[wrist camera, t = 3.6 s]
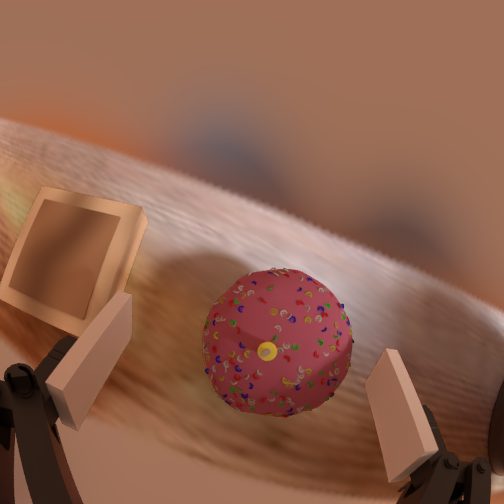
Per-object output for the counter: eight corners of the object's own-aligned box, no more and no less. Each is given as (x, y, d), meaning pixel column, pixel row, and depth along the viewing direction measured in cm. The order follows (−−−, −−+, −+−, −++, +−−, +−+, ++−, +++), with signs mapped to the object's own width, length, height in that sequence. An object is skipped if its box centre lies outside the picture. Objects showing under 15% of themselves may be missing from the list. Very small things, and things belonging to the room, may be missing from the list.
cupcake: (236, 426, 18) (256, 497, 7) (185, 316, 20) (145, 258, 9) (344, 371, 20) (457, 366, 9) (294, 270, 23) (359, 179, 11)
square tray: (148, 222, 23) (140, 205, 20) (107, 346, 19) (93, 343, 17) (54, 200, 23) (41, 184, 20) (13, 303, 19) (-6, 296, 16)
